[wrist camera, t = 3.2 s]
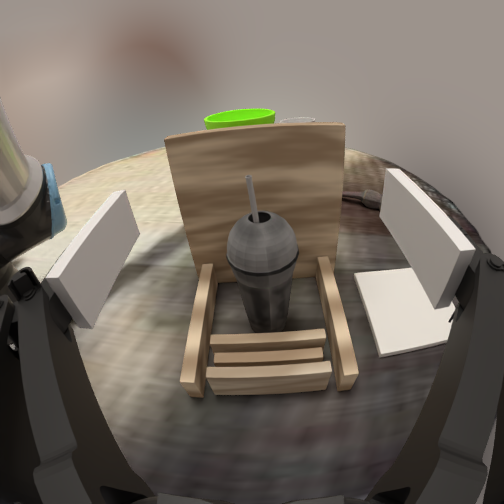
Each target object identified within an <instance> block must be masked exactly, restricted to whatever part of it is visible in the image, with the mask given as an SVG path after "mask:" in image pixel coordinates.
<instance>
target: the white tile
mask: <svg viewBox="0 0 504 504" xmlns="http://www.w3.org/2000/svg"><path fill="white" fill-rule="evenodd" d="M354 280H355V282H356V285H357V288H358V291H359V294H360V297H361V300H362V303H363V306H364V309H365V312H366V315H367V318H368V321H369V324H370V328H371V331H372V334H373V337H374V341H375V344H376V348H377V351H378V355H379V357H385V356H390V355H395V354H400V353H405V352H410V351H414V350H419V349H423V348H427V347H431V346H435V345H439V344H443V343H447V340H448V337H449V333H450V329H451V325H452V322H453V319H452V321H451V323H449V322H448V321H449V319H450V318H451V316H452V314H453V312H454V311H455V309H456V308H455V306H454V305H453V303H452V302H451V304H450V306H449V307H445V308H440V309H435V310H434V308H433V306H432V304H431V302H430V300H429V298H428V296H427V294H426V293H425V291H424V289H423V287H422V285H421V283H420V281H419V280H418V278H417V276H416V274H415V272H414V271H413V269H412V268H406V269H395V270H385V271H374V272H363V273H354Z"/></svg>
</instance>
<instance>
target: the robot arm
mask: <svg viewBox="0 0 504 504" xmlns="http://www.w3.org/2000/svg"><path fill="white" fill-rule="evenodd" d="M380 218H381V219H382V221H383V222H384V224H385V225H386V227H387V228H388V230H389V231H390V233H391V234H392V236H393V237H394V239H395V241H396V242H397V244H398V245H399V247H400V249H401V250H402V252H403V254H404V255H405V257H406V259H407V260H408V262H409V264H410V265H411V267H412V269H413V271H414V272H415V274H416V276H417V278H418V280H419V281H420V283H421V285H422V287H423V289H424V291H425V293H426V294H427V296H428V298H429V300H430V302H431V304H432V306H433V308H434V310H435V309H440V308H445V307H449V306H450V304H451V302H452V300H453V298H454V296H456V297H457V299H458V301H459V303H458V305H457V307H456V309H455V311H454V312H453V314H452V316H451V318H450V319H449V321H448V322H449V323H451V321H452V319H453V322H452V325H451V329H450V333H449V337H448V340H447V344H446V347H445V350H444V353H443V356H442V359H441V362H440V365H439V368H438V371H437V374H436V377H435V379H434V382H433V385H432V387H431V390H430V392H429V395H428V397H427V400H426V402H425V404H424V406H423V409H422V411H421V413H420V415H419V418H418V420H417V422H416V424H415V426H414V428H413V430H412V432H411V434H410V436H409V438H408V440H407V442H406V443H405V445H404V447H403V449H402V451H401V453H400V454H399V456H398V458H397V459H396V461H395V463H394V464H393V466H392V467H391V468H390V469H389V470H388V471H387V472H386V473H385V474H384V475H383V476H382V477H381V479H380V480H379V481H378V482H377V484H376V485H375V486H374V488H373V489H372V491H371V492H370V494H369V495H368V496H367V498H366V499H365V500H360V499H354V498H346V497H343V495H338V496H329V497H321V498H313V499H304V500H293V501H289V502H286V503H282V504H475V503H476V501H477V498H478V497H479V495H480V493H481V490H482V488H483V486H484V484H485V481H486V477H487V466H486V465H485V464H484V463H483V462H482V457H483V453H484V450H485V448H486V445H487V442H488V439H489V435H490V432H491V429H492V425H493V422H494V418H495V414H496V410H497V421H496V432H495V440H494V448H493V455H492V460H491V465H490V471H489V475H488V480H487V484H486V489H485V494H484V499H483V504H504V262H503V261H502V260H501V259H500V258H499V257H497V256H496V255H493V254H490V253H483V252H482V251H481V249H480V248H479V247H478V246H477V244H476V243H475V242H474V241H473V240H472V238H471V237H470V236H469V235H467V233H466V232H465V230H464V229H462V227H461V226H460V225H459V224H458V223H457V221H455V220H454V219H453V218H451V217H450V216H448V215H446V214H445V213H444V212H443V211H442V210H441V209H440V208H439V207H438V206H437V205H436V204H435V203H434V202H433V201H432V200H431V199H430V198H429V197H428V196H427V195H426V194H425V193H424V192H423V191H422V190H421V189H420V188H419V187H418V186H417V185H416V184H415V183H414V182H413V181H412V180H411V179H410V178H409V177H407V176H406V175H405V174H404V173H403V172H402V171H401V170H400V169H386V173H385V182H384V190H383V197H382V204H381V210H380ZM66 225H67V219H66V215H65V212H64V209H63V205H62V202H61V198H60V195H59V191H58V187H57V183H56V179H55V175H54V171H53V166H52V164H50V163H48V164H42V165H40V163H39V162H38V160H37V159H36V158H34V157H32V156H28V155H24V153H23V151H22V149H21V147H20V145H19V142H18V141H17V138H16V136H15V134H14V131H13V129H12V127H11V124H10V122H9V119H8V117H7V114H6V112H5V109H4V106H3V104H2V101H1V98H0V504H233V503H229V502H226V501H221V500H210V499H200V498H192V497H184V496H177V495H170V494H164V493H158V496H155V495H154V494H153V492H152V491H151V489H150V488H149V487H148V485H147V484H146V483H145V482H144V481H143V480H142V479H141V478H140V477H139V476H138V475H137V474H136V473H134V471H133V470H132V469H131V468H130V466H129V465H128V463H127V461H126V459H125V458H124V456H123V454H122V452H121V450H120V448H119V447H118V445H117V443H116V441H115V439H114V437H113V435H112V433H111V431H110V429H109V427H108V424H107V422H106V420H105V418H104V416H103V414H102V411H101V409H100V407H99V404H98V402H97V399H96V397H95V395H94V392H93V389H92V387H91V384H90V382H89V379H88V376H87V373H86V370H85V367H84V365H83V362H82V358H81V355H80V352H79V349H78V346H77V342H76V339H75V335H74V332H73V329H72V328H71V326H70V325H69V323H70V321H71V319H73V320H74V321H75V323H76V324H77V325H78V327H79V328H89V329H93V327H94V325H95V322H96V320H97V318H98V316H99V313H100V311H101V309H102V307H103V305H104V303H105V300H106V298H107V296H108V294H109V292H110V290H111V288H112V286H113V284H114V282H115V280H116V278H117V276H118V274H119V272H120V270H121V268H122V266H123V264H124V262H125V260H126V258H127V257H128V255H129V253H130V251H131V249H132V247H133V246H134V244H135V242H136V240H137V238H138V237H139V235H140V232H139V230H138V227H137V224H136V221H135V218H134V215H133V212H132V209H131V206H130V203H129V200H128V197H127V194H126V191H125V190H121V191H116V192H113V193H112V194H111V195H110V196H109V197H108V198H107V199H106V200H105V202H104V203H103V204H102V205H101V206H100V207H99V208H98V210H97V211H96V212H95V213H94V214H93V215H92V217H91V218H90V219H89V220H88V221H87V223H86V224H85V225H84V226H83V228H82V229H81V230H80V231H79V232H78V234H77V235H76V236H75V238H74V239H73V240H72V241H71V243H70V244H69V245H68V247H67V248H66V249H65V250H64V251H63V253H62V254H61V255H60V257H59V259H57V261H56V262H55V264H54V265H53V266H52V268H51V269H50V271H49V272H48V274H47V275H46V277H45V278H44V280H43V281H42V283H41V284H40V282H39V280H38V279H37V277H36V275H35V274H34V272H33V271H32V269H31V268H30V267H25V268H23V269H21V270H19V271H18V270H17V269H16V268H15V267H14V266H13V264H12V262H11V261H12V260H14V259H16V258H17V257H19V256H20V255H22V254H24V253H25V252H27V251H29V250H30V249H32V248H34V247H36V246H37V245H39V244H41V243H43V242H45V241H47V240H48V239H52V238H53V237H54V236H55V235H56V234H58V233H60V232H61V231H63V230H64V229H65V227H66ZM10 343H13V344H14V345H15V350H13V349H12V348H11V347H10V346H9V345H8V344H10Z"/></svg>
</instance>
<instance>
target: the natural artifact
mask: <svg viewBox="0 0 504 504" xmlns="http://www.w3.org/2000/svg"><path fill="white" fill-rule="evenodd" d="M342 197H350V198H356V199H359V200H361V201H362V203H363V204H364V205H365V206H366V207H369V208H373V209H375V208H376V209H379V211H380V210H381V204H382V197H383V195H382V194H380V193H378V192H377V191H374V190H366V191H364V192H342Z"/></svg>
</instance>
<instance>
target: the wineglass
mask: <svg viewBox="0 0 504 504" xmlns="http://www.w3.org/2000/svg"><path fill="white" fill-rule="evenodd" d="M274 121H275V111H273V110H268V109H241V110H232V111H226V112H221V113H217V114H213V115H211V116H208V117H206V118H205V119H204V122H205V125H206V128H207V130H210V129H218V128H227V127H237V126H248V125H260V124H274Z"/></svg>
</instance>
